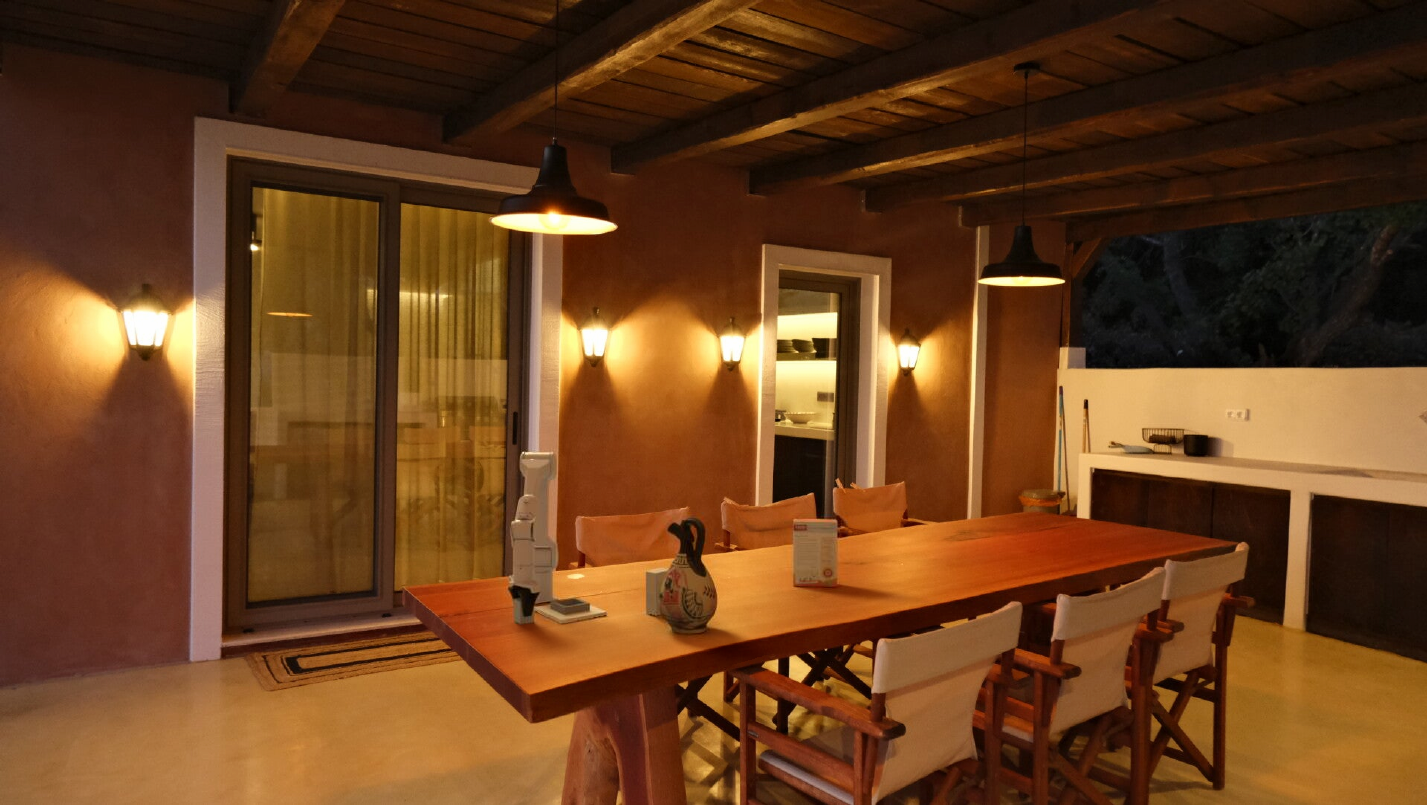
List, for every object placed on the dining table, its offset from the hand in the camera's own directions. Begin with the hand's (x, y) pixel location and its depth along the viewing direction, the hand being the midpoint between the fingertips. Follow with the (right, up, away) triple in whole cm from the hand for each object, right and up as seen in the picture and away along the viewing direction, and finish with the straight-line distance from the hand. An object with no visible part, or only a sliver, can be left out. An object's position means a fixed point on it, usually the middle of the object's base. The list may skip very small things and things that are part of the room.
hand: (523, 614), depth 239 cm
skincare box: (+35, -2, +10) cm, 37 cm away
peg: (0, -2, 0) cm, 2 cm away
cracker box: (+83, -2, +45) cm, 94 cm away
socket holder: (+11, -2, +9) cm, 14 cm away
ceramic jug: (+45, -3, -7) cm, 45 cm away
